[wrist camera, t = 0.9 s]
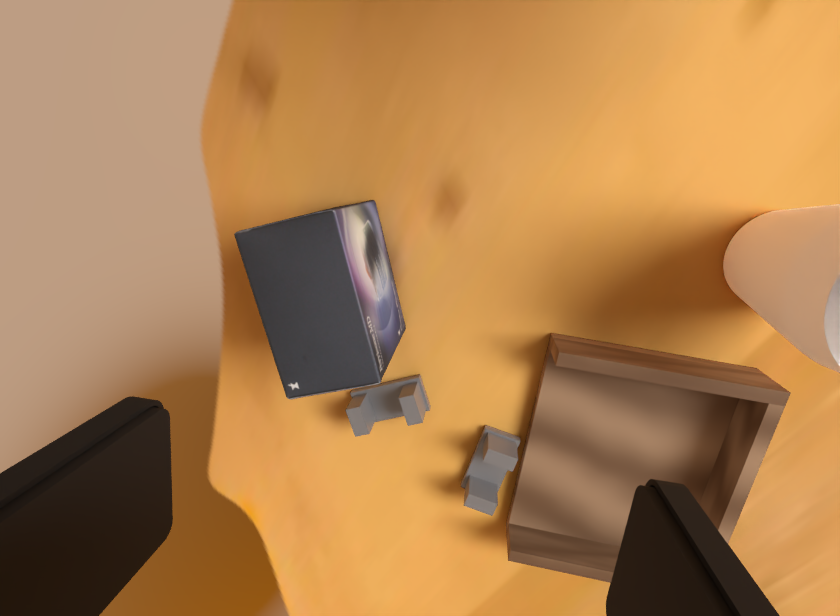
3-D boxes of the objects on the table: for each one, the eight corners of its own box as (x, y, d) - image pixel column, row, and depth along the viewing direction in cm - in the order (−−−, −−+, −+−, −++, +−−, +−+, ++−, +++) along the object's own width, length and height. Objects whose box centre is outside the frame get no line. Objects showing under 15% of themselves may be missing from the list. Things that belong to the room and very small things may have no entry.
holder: (551, 332, 36) (559, 352, 32) (756, 368, 34) (790, 393, 31) (505, 524, 41) (508, 560, 37) (682, 561, 40) (703, 602, 36)
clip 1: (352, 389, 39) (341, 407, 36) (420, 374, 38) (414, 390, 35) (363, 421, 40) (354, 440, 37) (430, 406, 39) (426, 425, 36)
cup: (718, 336, 34) (836, 420, 23) (690, 218, 32) (804, 245, 21) (858, 298, 32) (1063, 368, 21) (837, 170, 30) (1051, 170, 19)
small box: (412, 330, 37) (385, 388, 27) (335, 344, 38) (283, 404, 28) (379, 196, 35) (336, 207, 25) (298, 216, 36) (226, 233, 26)
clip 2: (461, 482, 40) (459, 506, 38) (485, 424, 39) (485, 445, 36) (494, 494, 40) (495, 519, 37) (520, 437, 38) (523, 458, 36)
